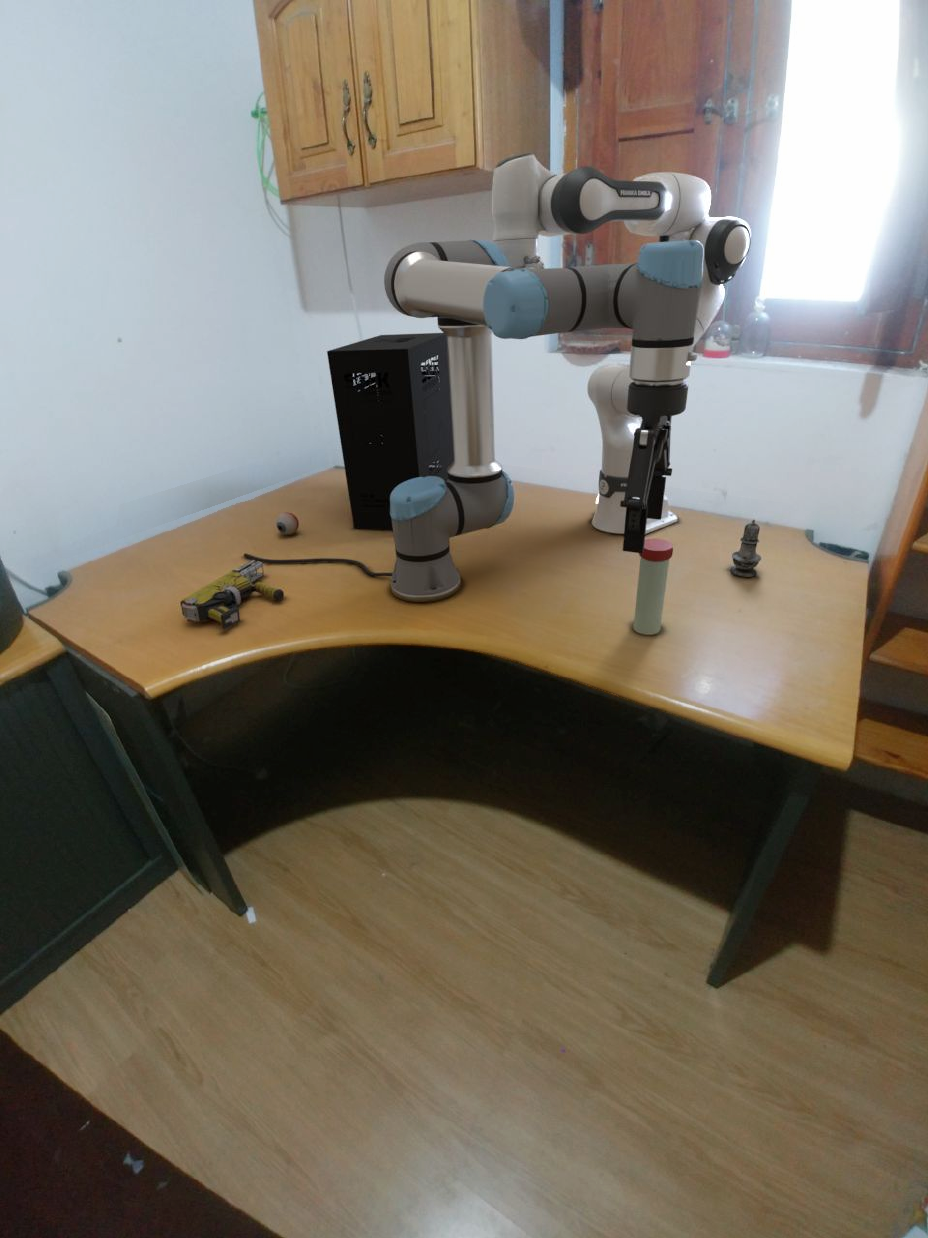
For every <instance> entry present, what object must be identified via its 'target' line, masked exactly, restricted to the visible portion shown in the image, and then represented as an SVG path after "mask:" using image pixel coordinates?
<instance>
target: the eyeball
mask: <svg viewBox="0 0 928 1238" xmlns="http://www.w3.org/2000/svg"><path fill="white" fill-rule="evenodd" d="M299 525H300V522H299V519H298V517H297V516H296V515H295V514H294V513H292V512H287V511H286V512H282V513H280V514H279V515H278V516H277V517H276V520H275V527H276V529H277V530H278V531H279V532H280V533H281V534H282V535H285V536H286V535H287V536H289V535H293V534H295V533H296V532H297V531H298V529H299Z"/></svg>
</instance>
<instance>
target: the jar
mask: <svg viewBox="0 0 928 1238" xmlns="http://www.w3.org/2000/svg"><path fill="white" fill-rule="evenodd" d="M669 563H670V559H668V560H665V561H650V560H646V559H643V558H642V557H640V560H639V570H638V578H637V587H636V597H635V599H636V600H635V607H634V616H633V626H632V627H633V630H634V631H635V632H637V633H638V634H641V635H646V636H652V635H657V634H658V633H660V631H661V626H662V619H663V611H664V603H665V594H666V588H667V580H668V579H667V578H668V571H669Z"/></svg>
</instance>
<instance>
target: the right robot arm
mask: <svg viewBox="0 0 928 1238" xmlns="http://www.w3.org/2000/svg"><path fill="white" fill-rule="evenodd" d="M711 200H712V194H711V189H710V186H709V185H708V183H707V182H706V181H705V180H704V179H703V178H701V177H698V176H695V175H692V174H689V173H682V172H675V171H673V172H672V171H660V172H659V171H658V172H651V173H646V174H641V175H640V176H637V177H635V178H633V179H632V180H624V179H623V180H621V179H613V178H610V177H609V176H607V175H606V174H604V173H603V172H601V171H600V170H599V169H596V168H594V167H592V166H585V165H584V166H579V167H577V168H575V169H573V170H569V171H568V172H566V173H565V172H564V173H562V174H559V175H558V174H556V173H554V172H552V171H551V170H549V169H547V168H546V167H545V166H543V165H542V163H540V161H539V160H538V159H537V157H536V156H535V153H531V152H525V153H520V154H517V155H513V156H509V157H507V158H504V159H501V160H500V161H499V162H497V164H496V165H495V167H494V170H493V174H492V183H491V216H492V220H493V227H494V228H493V235H492V243H494V244H495V245H497V246H498V247H499V248H500V249H501V251H502V253H503V254H504V255H505V257H506V259H507V262H508V265H509V267H516V268H530V269H546V268H545V263H544V262H543V260H542V258H541V256H539V236H542V237H546V238H547V237H549V238H550V237H557V236H558V237H560V236H566V235H567V236H568V235H585V234H586V235H587V234H589V233H592V232H594V231H595V230H597V229H598V228H600V227H602V226H603V225H605V224H606V223H608V222H623V224H624V226H625V227H626V230H628V232H629V233H631V234H634V235H639V236H645V237H658V242H669V241H686V240H696V241H699V242H700V243H701V244H702V245H703V248H704V258H703V275H702V278H703V284H702V286H701V292H700V299H699V305H698V311H697V318H696V325H695V332H694V343H693V348H694V347H695V346H696V345H697V343H698V342H699V340H701V338H702V337H703V336H704V335H705V333H706V331H707V330H708V328H709V327H710V325H711V324H712V322H713V321H714V319H715V318H716V316H717V315H718V313H719V311H720V309H721V307H722V305H723V303H724V300H725V288H724V285H725V284H727V283H729V282H730V281H732V280H733V279H734V278H735V275H736V274H737V271H738V270H739V269H740V268H741V267H742V265H743V263H744V262H745V260H746V258H747V256H748V254H749V252H750V249H751V243H752V231H751V228H750V225H749V224H748V223H747V222H746V221H745V220H743V219H741V218H738V217H736V216H724V217H710V215H709V210H710V207H711ZM629 368H630V364H625V363H619V362H615V363H614V362H613V363H607V364H604V365H601V366H597V368H595V369H594V371H593V372H591V374H590V376H589V378H588V380H587V395H588V398H589V399H590V401H591V402H592V404H593V406H594V408H595V411H596V414H597V417H598V418H597V419H598V421H599V427H600V432H601V440H602V447H601V448H602V449H601V450H602V451H601V468H600V470H599V474H598V492H599V493H598V495H597V497H596V500H595V504H596V507H595V511H594V514H593V517H592V520H591V525H592V526H593V527H594V528H595V529H597V530H599V531H601V532H605V533H611V534H623V535H624V529H625V517H626V507H620V502H621V501H623V500H624V497H625V491H626V485H627V480H628V474H629V468H630V462H631V457H632V451H633V443H634V432H635V430H636V429H637V428H640V426H641V420H642V417H641V416H640V415H633V414H631V413H629V412H628V410H627V399H628V386H629V385H630V383H631V382H633V380H632V379H631V378H630V377H629ZM633 499H639V498H638V497H633ZM669 502H670V501H669V498H668V497H667V496H666V495H665V494H664V500H663V509H662V517H661V520H658V519H649V518H647V522H646V532H645V535H646V534H650V533H652V532H654V531H657V530H660V529H662V528H665V527H668V526H670V525H672V524H675V523H677V522H678V516H677V515H676V514H675V513H674V512H672V511H670V503H669Z"/></svg>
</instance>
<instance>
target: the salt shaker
mask: <svg viewBox="0 0 928 1238" xmlns="http://www.w3.org/2000/svg"><path fill="white" fill-rule="evenodd" d="M760 530H761V527H760V525H759V524H757V523H756V519H752V520H751V522H749V523H746V525H744V529H743V534H742V537H741V538H740V541H741V543H740V548H739V550H737V551H734V552H732V553H731V557H732V563H733V565H734V566H732V567H731V568H730V572H731V573H732V574H734V575H735V576H738V577H743V578H750V577H754V576H756V575H757V574H758V571H757V569H755V568H756V567H758V565H759V563H760V561H761V560H762V555H760V554H758V553H757V547H758V543H760V540H759V535H760Z"/></svg>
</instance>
